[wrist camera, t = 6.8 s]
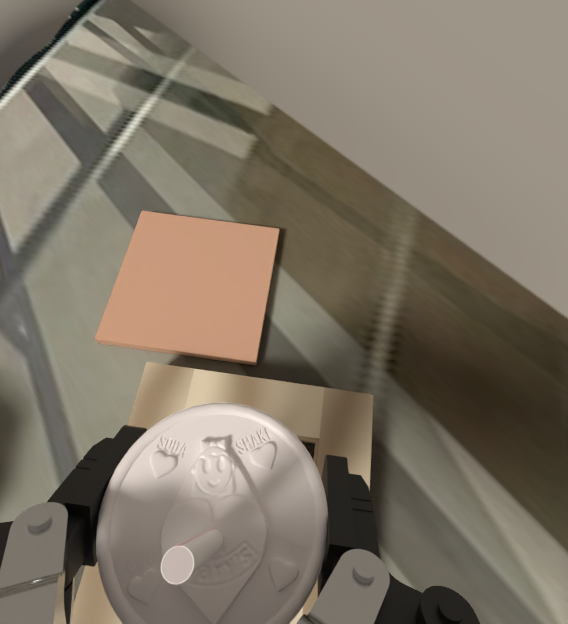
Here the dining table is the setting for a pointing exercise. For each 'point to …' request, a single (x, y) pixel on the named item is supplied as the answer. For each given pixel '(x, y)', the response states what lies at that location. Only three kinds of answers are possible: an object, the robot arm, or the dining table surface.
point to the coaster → (192, 288)
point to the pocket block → (263, 396)
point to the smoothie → (212, 521)
